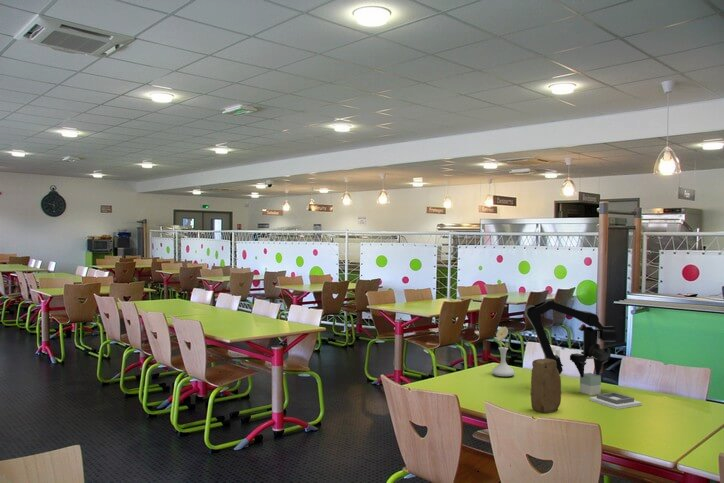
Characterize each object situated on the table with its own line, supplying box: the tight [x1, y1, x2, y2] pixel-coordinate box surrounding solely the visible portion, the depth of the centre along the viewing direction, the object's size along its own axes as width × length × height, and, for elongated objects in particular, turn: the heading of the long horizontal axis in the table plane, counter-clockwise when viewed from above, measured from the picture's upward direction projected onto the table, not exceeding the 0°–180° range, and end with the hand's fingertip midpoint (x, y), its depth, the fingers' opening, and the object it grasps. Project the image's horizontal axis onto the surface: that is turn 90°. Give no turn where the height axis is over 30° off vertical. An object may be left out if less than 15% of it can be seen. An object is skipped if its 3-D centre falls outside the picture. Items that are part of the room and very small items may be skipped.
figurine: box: [550, 345, 564, 372], centre depth 277 cm, size 7×9×15 cm
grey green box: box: [579, 372, 602, 396], centre depth 245 cm, size 6×6×8 cm
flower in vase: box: [491, 326, 516, 377], centre depth 277 cm, size 13×11×25 cm
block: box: [530, 357, 562, 414], centre depth 219 cm, size 11×8×20 cm
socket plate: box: [588, 391, 643, 410], centre depth 230 cm, size 14×14×3 cm
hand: (590, 376), depth 245 cm, fingers open, 9 cm apart
